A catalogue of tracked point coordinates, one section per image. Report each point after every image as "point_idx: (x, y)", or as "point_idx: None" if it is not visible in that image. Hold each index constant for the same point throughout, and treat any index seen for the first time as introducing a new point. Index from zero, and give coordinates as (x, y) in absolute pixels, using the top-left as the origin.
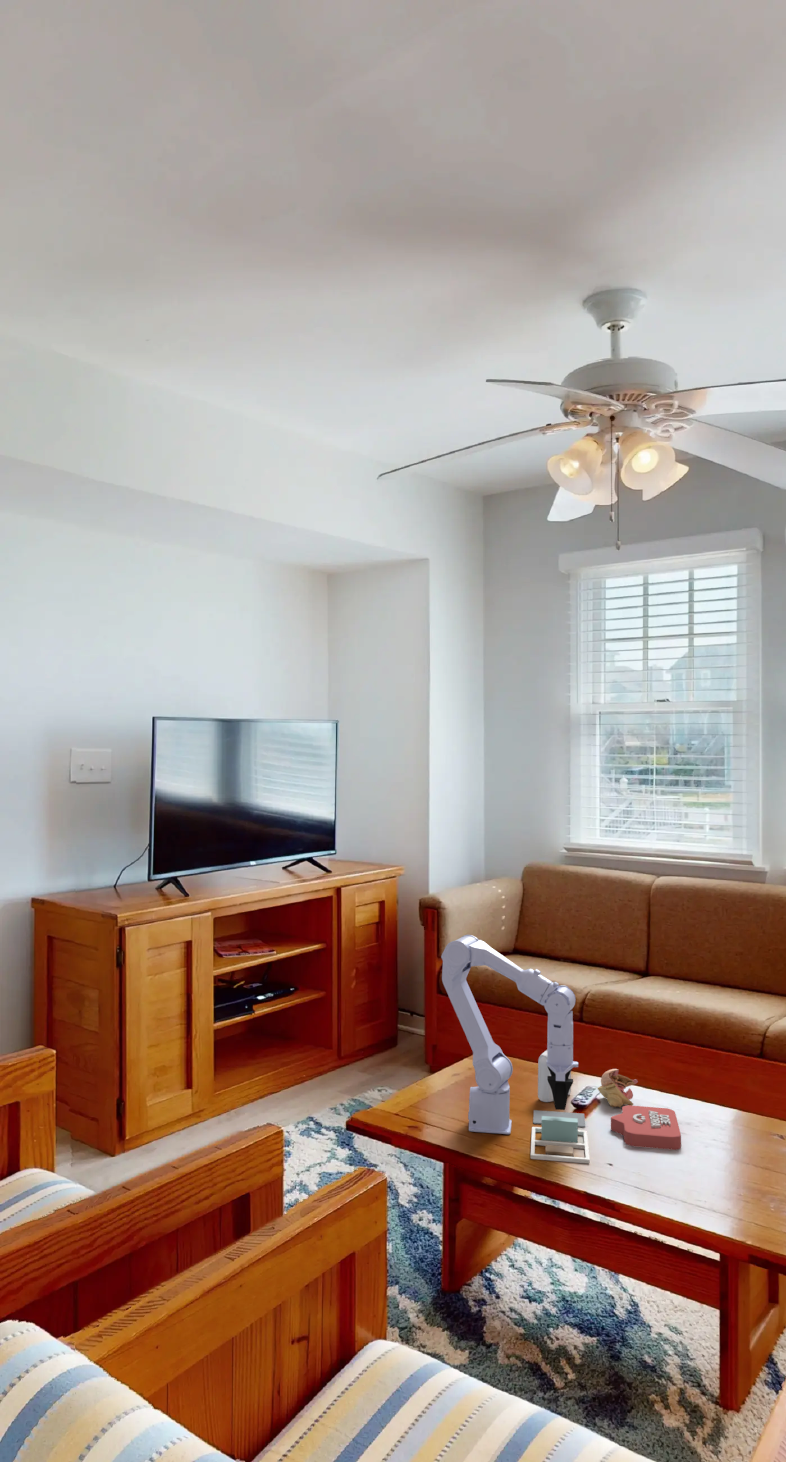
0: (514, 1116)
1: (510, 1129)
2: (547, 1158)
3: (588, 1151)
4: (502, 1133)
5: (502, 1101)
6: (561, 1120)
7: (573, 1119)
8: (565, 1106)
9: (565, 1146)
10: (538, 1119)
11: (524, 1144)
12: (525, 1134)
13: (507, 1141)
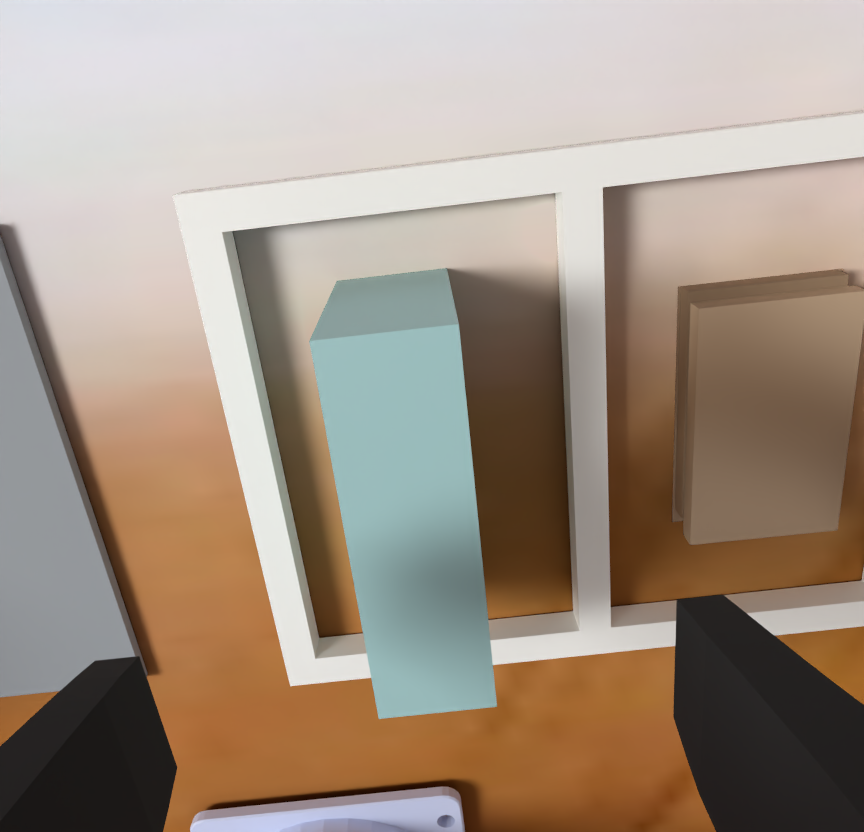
0: None
1: (394, 803)
2: None
3: (776, 128)
4: (464, 828)
5: None
6: (454, 522)
7: (369, 389)
8: (761, 626)
9: (702, 377)
10: (51, 655)
11: (604, 673)
12: None
13: (574, 776)
